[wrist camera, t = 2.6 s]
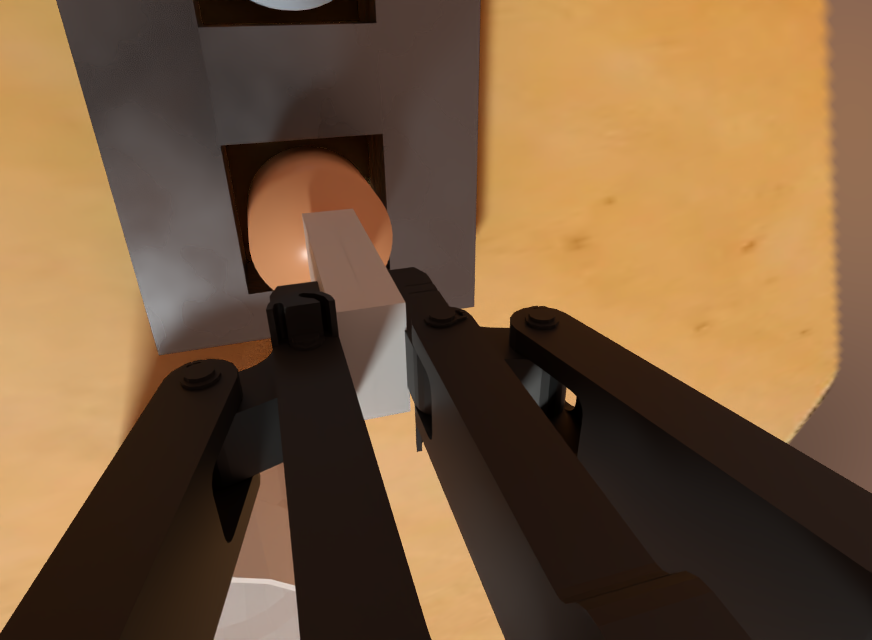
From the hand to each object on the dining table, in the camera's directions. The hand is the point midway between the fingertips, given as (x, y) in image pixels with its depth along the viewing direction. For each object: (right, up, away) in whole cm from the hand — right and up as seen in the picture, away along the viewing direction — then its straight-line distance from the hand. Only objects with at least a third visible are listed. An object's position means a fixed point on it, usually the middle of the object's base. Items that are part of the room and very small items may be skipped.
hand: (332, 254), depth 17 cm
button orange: (-1, +2, +3) cm, 4 cm away
